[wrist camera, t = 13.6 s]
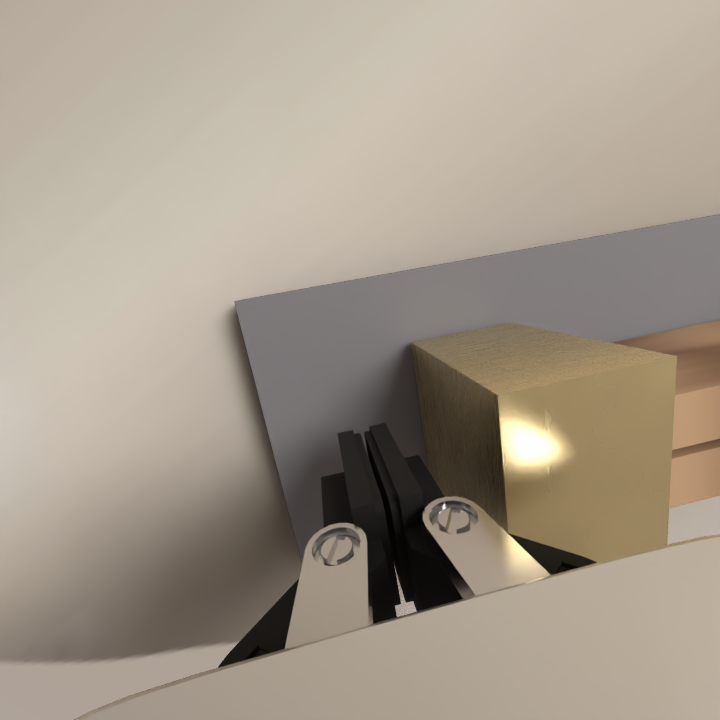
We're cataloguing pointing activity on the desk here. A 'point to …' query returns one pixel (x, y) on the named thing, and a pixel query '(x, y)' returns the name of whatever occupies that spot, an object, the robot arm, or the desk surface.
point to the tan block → (552, 434)
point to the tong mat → (448, 316)
